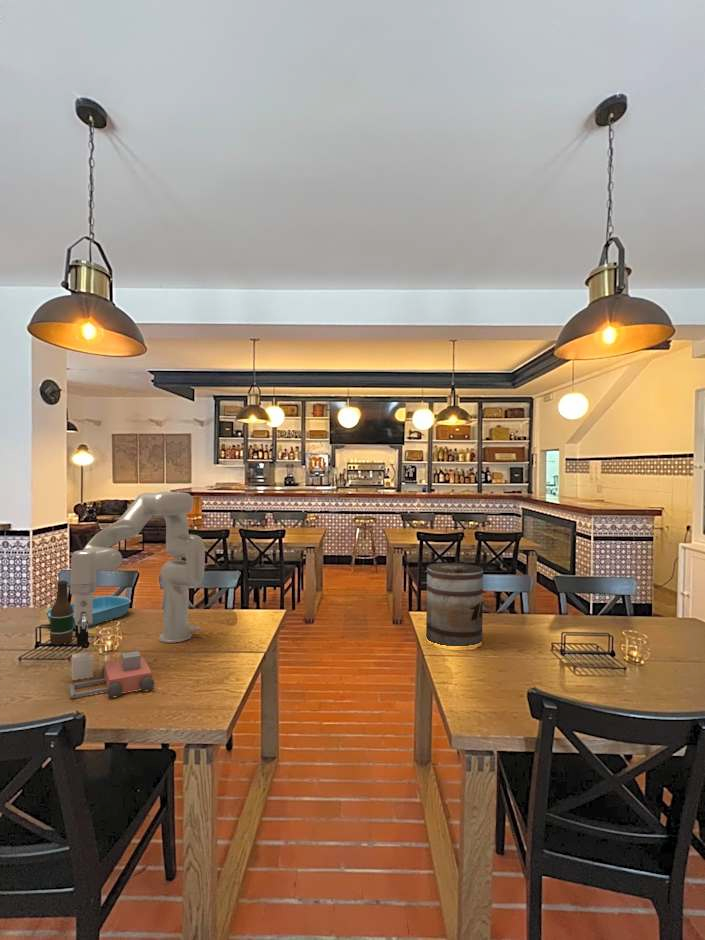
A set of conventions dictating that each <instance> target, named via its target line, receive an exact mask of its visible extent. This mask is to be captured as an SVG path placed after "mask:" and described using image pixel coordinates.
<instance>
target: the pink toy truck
mask: <svg viewBox="0 0 705 940" xmlns="http://www.w3.org/2000/svg"><path fill="white" fill-rule="evenodd" d="M120 654H121V658H120V660H118V659H117V660H114V661H113V660H112V661H107V662H104V663H103V667H102V668H101V673H102V675H103V678H99V679H94V680H93V679H92V680H87V681H82V682H75V683H70V684H68V686H69V687H68V688H69V689H70V690H69V696H70V698H76V697H81V696H86V695H90V694H95V693H100V692H105V691H107V694H108V697H109V696H110V697H109V698H112V697H113V696H118V695H120V696H121V695H123V694H122V692H128V691H133V690H139V689H141V690H142V692H145V690H150V691H151V690H153V688H154V686H155V680H153V678H152V675H153V673H152V671H151V668H150V666H149V665H148V663H147V661H146V659H145V657H144V656H141V653H140V652H139V650H134V651H129V652H128V651H127V652H122V653H120ZM104 682H106V683H104ZM99 683H104V684H105V686H107V687H105V686H104V687H101V688H94V689H90V690H84V691H79V692H76V689H79V688H78V687H82V688H85V687H84V686H87V687H90V686H89V685H93V684H98V685H100V684H99ZM93 686H94V685H93ZM74 688H76V689H74ZM107 689H108V690H107ZM86 697H87V696H86ZM118 697H119V696H118ZM81 698H82V697H81ZM76 699H77V698H76Z"/></svg>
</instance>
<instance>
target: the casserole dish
mask: <svg viewBox="0 0 705 940" xmlns="http://www.w3.org/2000/svg"><path fill="white" fill-rule="evenodd" d="M131 602H132V599H129V598H128V597H127V596H122V595H120V596H119V595H103V596H101V595H100V596H96V597H93V611H92V624H90V623H88V628H90V627H93V626H96V624H97V625H99V624H98V623H100V622H103V621H106V620H110V619H113V618H116V619H118V618H117V617H119V618H121V617H124V615H126V613H128V611H129V608H130V605H131ZM70 604H71V606H72V608H73V629H74V628H75V625H76V624H75V618H74V602H72V603H70ZM51 609H52V608H50V609H47V610H46V612H45V613H46V616H47V618H48V619H47V620H48V622H49V623H50V615H51ZM113 620H114V619H113ZM110 621H111V620H110ZM103 623H104V622H103ZM100 624H101V623H100Z"/></svg>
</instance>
